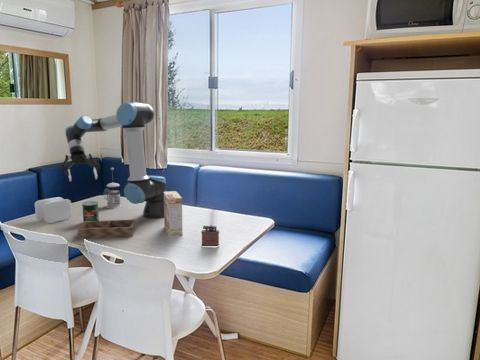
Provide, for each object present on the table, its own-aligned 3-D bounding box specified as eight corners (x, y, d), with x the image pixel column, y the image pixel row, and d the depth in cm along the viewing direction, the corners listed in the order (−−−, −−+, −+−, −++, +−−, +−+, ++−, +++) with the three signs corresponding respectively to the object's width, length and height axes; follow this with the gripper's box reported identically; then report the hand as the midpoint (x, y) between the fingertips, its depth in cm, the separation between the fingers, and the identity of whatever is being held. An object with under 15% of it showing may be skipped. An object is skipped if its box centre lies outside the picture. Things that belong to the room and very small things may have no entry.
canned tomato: (85, 225, 189) (84, 205, 187) (81, 221, 195) (80, 202, 193) (100, 223, 194) (99, 203, 192) (97, 219, 200) (95, 200, 198)
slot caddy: (135, 227, 188) (135, 219, 187) (132, 236, 175) (132, 227, 174) (85, 229, 183) (84, 221, 183) (78, 238, 171) (77, 229, 170)
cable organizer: (44, 225, 189) (42, 204, 186) (35, 221, 195) (33, 200, 193) (72, 219, 200) (70, 198, 198) (63, 215, 207) (61, 195, 204)
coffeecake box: (163, 227, 190) (163, 191, 186) (177, 226, 192) (176, 190, 188) (168, 236, 176) (167, 198, 172) (183, 235, 178) (182, 197, 174)
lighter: (219, 245, 166) (219, 224, 165) (218, 247, 163) (219, 227, 161) (201, 245, 166) (201, 224, 164) (201, 247, 163) (201, 226, 161)
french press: (125, 205, 229) (123, 167, 224) (110, 209, 219) (108, 169, 214) (115, 203, 234) (113, 165, 229) (100, 207, 224) (97, 168, 219)
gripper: (97, 152, 218) (105, 180, 209) (52, 154, 203) (58, 185, 194) (99, 144, 212) (108, 173, 203) (53, 145, 198) (59, 177, 189)
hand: (83, 179), depth 199 cm, fingers open, 13 cm apart
